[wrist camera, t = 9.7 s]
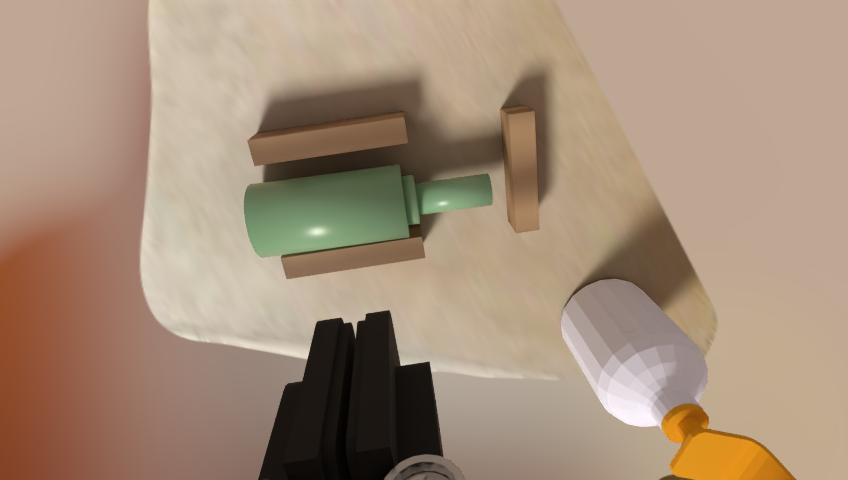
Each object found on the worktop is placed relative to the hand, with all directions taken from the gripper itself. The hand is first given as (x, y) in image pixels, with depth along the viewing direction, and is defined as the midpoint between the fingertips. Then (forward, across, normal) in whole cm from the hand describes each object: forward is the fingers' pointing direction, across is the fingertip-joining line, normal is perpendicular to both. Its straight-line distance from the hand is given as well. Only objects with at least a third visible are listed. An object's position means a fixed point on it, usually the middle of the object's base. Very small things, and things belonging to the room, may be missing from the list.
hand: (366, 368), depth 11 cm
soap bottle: (+31, -19, +22) cm, 43 cm away
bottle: (+28, +11, +6) cm, 31 cm away
